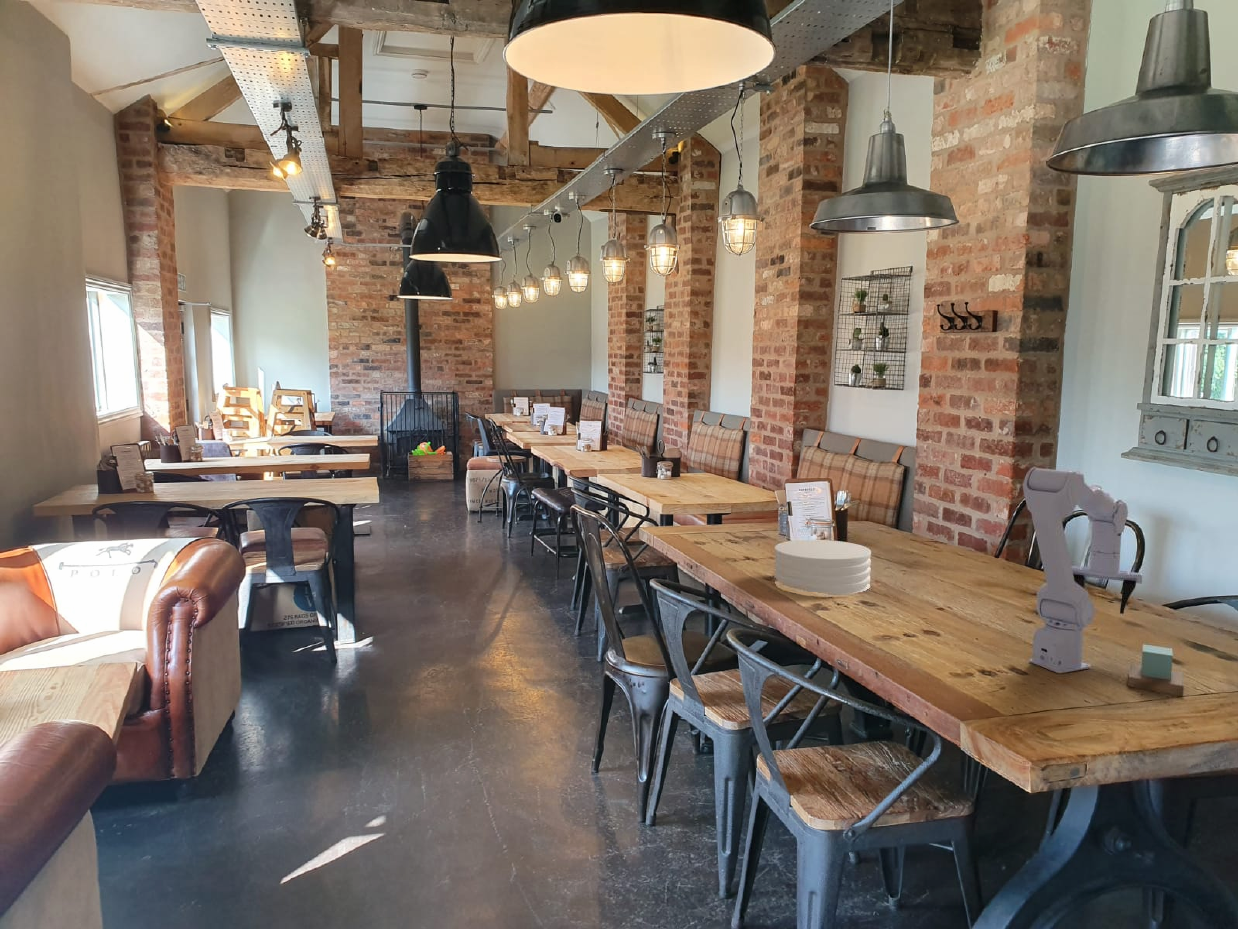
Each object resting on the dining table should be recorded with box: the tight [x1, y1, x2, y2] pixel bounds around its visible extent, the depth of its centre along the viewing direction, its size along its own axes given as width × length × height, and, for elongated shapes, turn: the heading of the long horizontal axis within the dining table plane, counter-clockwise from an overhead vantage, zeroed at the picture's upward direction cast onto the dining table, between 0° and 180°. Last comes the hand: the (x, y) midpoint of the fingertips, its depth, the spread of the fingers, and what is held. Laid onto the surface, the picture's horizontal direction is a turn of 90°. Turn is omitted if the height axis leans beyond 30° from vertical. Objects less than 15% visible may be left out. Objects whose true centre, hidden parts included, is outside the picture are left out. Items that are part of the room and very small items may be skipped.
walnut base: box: [1128, 663, 1185, 697], centre depth 164 cm, size 9×9×2 cm
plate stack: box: [774, 539, 872, 595], centre depth 243 cm, size 28×28×12 cm
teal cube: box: [1141, 644, 1174, 680], centre depth 164 cm, size 5×5×5 cm
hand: (1101, 610), depth 184 cm, fingers open, 7 cm apart
